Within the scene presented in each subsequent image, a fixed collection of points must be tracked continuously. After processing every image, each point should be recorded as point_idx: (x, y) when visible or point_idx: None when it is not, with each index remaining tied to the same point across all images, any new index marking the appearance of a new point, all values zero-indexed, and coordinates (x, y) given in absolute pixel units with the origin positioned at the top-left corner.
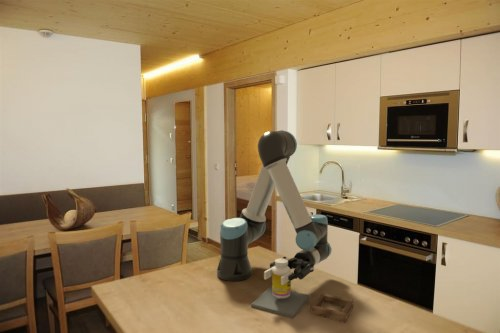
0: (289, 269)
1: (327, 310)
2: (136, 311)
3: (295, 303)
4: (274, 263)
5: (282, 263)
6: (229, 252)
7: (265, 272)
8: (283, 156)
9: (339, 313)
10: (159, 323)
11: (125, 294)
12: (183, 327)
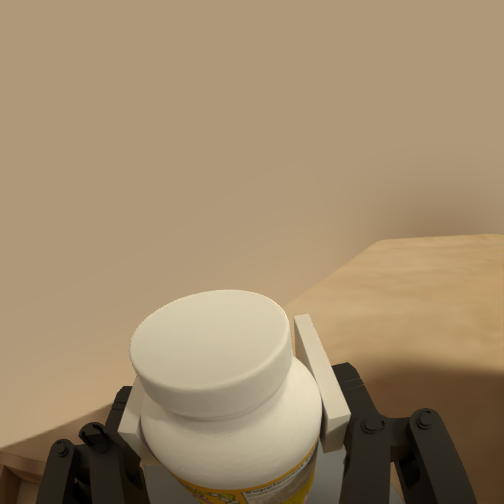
0: (142, 414)
1: (36, 462)
2: (421, 248)
3: (177, 502)
4: (419, 450)
5: (165, 307)
6: None
7: (295, 317)
8: None
9: (8, 456)
10: (369, 259)
11: (478, 246)
12: (336, 273)
